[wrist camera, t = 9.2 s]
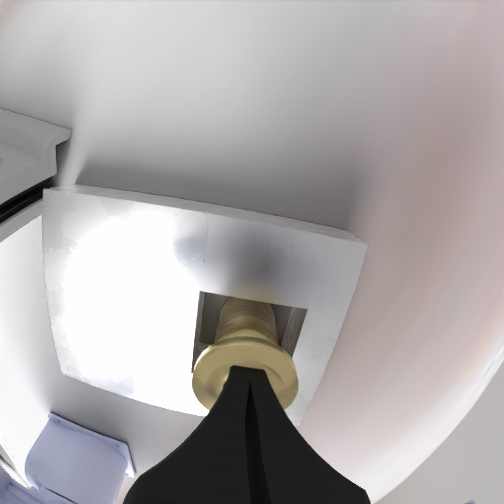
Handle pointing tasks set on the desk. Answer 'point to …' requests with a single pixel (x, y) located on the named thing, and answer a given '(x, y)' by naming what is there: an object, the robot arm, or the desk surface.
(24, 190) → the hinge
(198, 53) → the desk surface
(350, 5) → the desk surface
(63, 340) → the jig
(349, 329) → the desk surface
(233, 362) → the bushing
